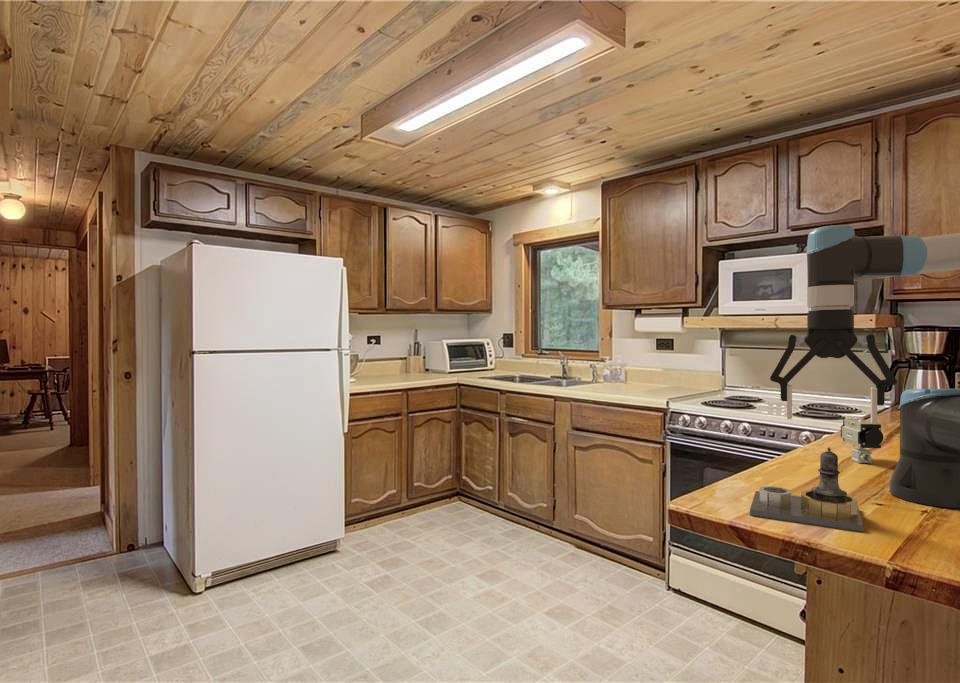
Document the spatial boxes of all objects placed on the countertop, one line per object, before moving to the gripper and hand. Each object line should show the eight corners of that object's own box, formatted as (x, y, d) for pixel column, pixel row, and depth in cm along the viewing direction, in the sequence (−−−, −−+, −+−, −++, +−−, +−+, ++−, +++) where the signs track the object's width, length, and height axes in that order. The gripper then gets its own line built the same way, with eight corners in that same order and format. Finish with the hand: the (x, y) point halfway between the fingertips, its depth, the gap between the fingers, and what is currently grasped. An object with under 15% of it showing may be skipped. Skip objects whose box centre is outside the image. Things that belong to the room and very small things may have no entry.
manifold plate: (857, 509, 111) (857, 491, 111) (863, 532, 99) (863, 511, 98) (755, 496, 120) (755, 479, 120) (749, 515, 108) (750, 496, 108)
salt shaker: (829, 516, 103) (830, 451, 103) (803, 506, 109) (803, 445, 109) (854, 513, 105) (855, 449, 105) (827, 503, 111) (828, 443, 110)
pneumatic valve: (857, 457, 155) (858, 414, 155) (884, 467, 143) (884, 421, 143) (836, 456, 155) (837, 413, 155) (861, 467, 144) (861, 420, 144)
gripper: (909, 307, 103) (909, 422, 104) (758, 311, 116) (758, 413, 116) (916, 306, 97) (915, 428, 97) (755, 310, 109) (756, 418, 110)
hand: (830, 420), depth 107 cm, fingers open, 13 cm apart
